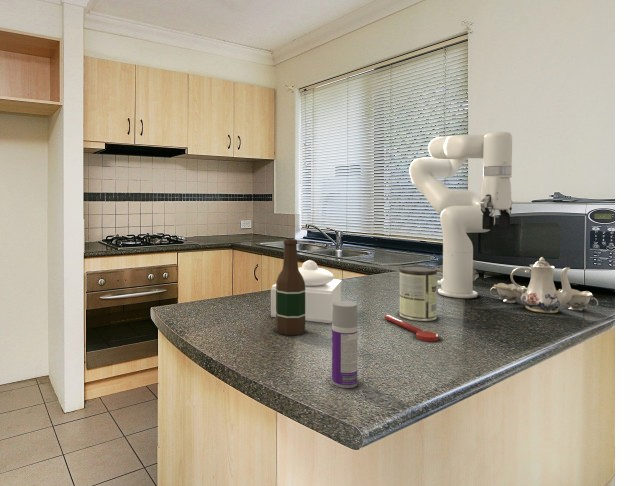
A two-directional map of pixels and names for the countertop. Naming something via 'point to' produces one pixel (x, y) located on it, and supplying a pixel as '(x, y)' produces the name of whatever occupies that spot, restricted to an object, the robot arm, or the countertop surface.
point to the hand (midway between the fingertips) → (496, 228)
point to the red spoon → (414, 329)
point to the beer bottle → (290, 293)
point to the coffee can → (418, 293)
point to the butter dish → (315, 293)
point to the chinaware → (544, 290)
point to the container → (344, 344)
